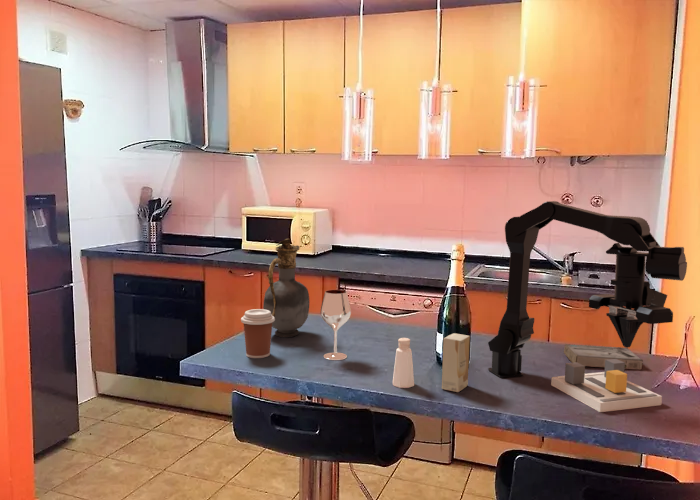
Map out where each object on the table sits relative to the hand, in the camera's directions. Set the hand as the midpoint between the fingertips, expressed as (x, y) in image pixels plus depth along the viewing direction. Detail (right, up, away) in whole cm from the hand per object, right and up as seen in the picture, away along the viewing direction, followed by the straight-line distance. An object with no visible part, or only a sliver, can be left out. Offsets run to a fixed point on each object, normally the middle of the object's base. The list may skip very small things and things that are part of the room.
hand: (626, 347), depth 130 cm
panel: (-2, -12, +7) cm, 14 cm away
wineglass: (-64, -8, +33) cm, 73 cm away
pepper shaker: (-48, -11, +12) cm, 50 cm away
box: (+8, -10, +31) cm, 34 cm away
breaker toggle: (-1, -10, +3) cm, 11 cm away
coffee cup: (-85, -8, +34) cm, 92 cm away
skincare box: (-36, -11, +10) cm, 39 cm away
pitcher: (-80, -5, +54) cm, 97 cm away
